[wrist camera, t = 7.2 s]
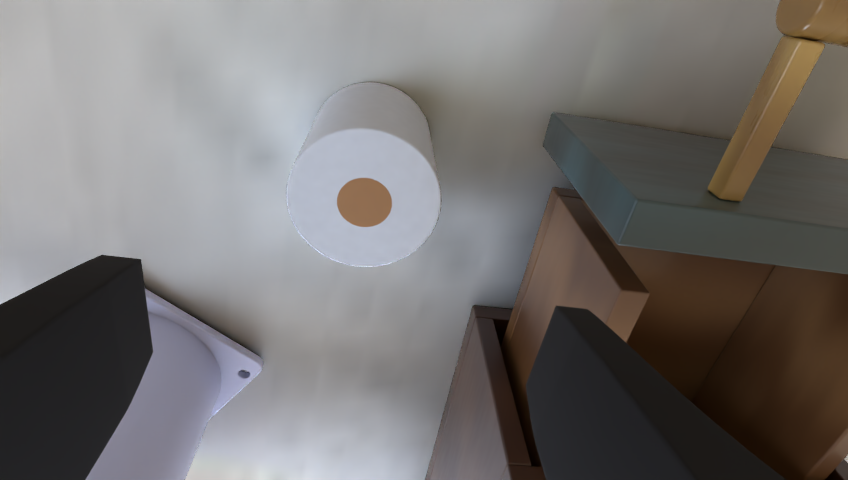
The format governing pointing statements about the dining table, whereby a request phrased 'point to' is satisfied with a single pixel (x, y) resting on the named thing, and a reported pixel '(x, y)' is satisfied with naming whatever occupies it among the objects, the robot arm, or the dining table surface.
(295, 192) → the paper towel roll
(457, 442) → the cabinet
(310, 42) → the dining table surface
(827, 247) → the drawer
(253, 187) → the dining table surface
